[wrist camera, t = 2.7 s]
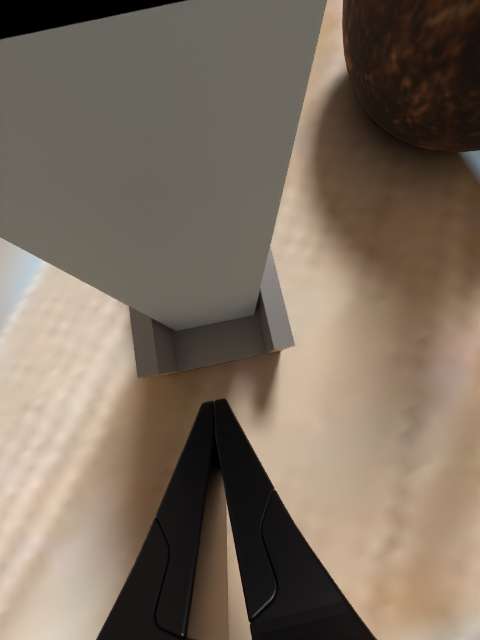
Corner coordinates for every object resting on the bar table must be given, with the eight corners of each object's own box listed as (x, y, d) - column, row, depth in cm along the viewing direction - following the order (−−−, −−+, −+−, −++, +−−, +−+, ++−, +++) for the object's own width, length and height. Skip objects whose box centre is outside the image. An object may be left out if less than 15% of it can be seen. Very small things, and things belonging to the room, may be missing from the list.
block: (254, 315, 16) (345, -83, 2) (176, 331, 15) (-385, 32, 2) (238, 243, 16) (218, -380, 3) (164, 258, 16) (-254, -325, 3)
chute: (280, 350, 16) (294, 345, 12) (165, 374, 16) (137, 377, 12) (236, 163, 19) (235, 103, 14) (137, 181, 18) (106, 126, 14)
